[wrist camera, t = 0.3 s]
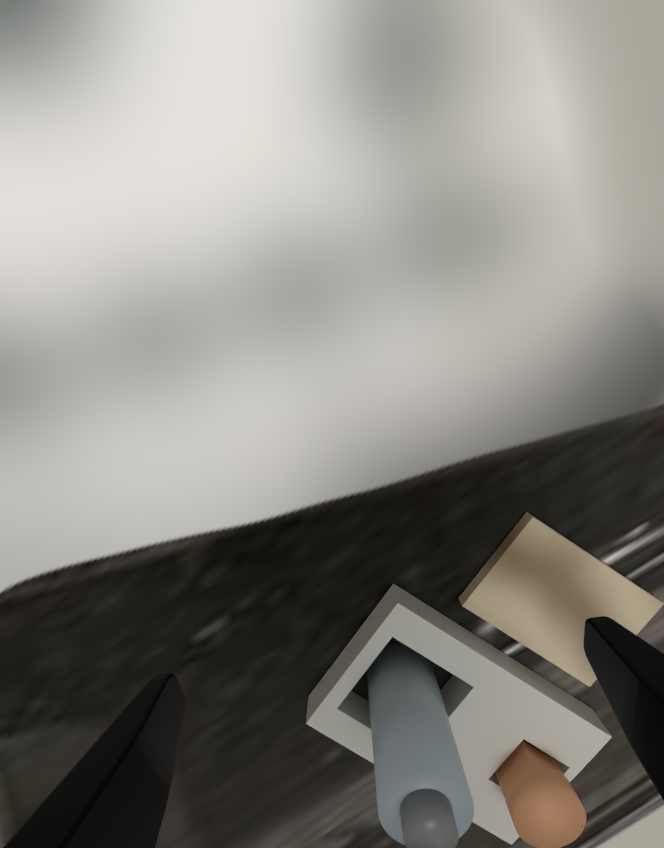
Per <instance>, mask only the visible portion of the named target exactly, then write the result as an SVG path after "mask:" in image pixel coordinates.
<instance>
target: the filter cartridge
mask: <svg viewBox="0 0 664 848" xmlns="http://www.w3.org/2000/svg"><path fill="white" fill-rule="evenodd" d="M367 684H368V696H369V708H370V721H371V733H372V745H373V758H374V770H375V782H376V794H377V807H378V816H379V820H380V823H381V825H382V827H383V828H384V830H385V831H386V832H387V833H388V835H389V836H391V837H392V838H393V839H394V840H396V841H397V842H399V843H401V844H403V845H405V846H406V848H455V847H456V845H457V843H458V840H459V838H460V837H461V836H462V835H463V834H464V833H465V832H466V831H467V830H468V828H469V826H470V825H471V822H472V820H473V816H474V803H473V799H472V795H471V792H470V789H469V785H468V782H467V779H466V775H465V772H464V769H463V766H462V762H461V759H460V756H459V752H458V749H457V746H456V742H455V739H454V736H453V732H452V729H451V726H450V722H449V719H448V716H447V712H446V709H445V706H444V702H443V699H442V696H441V692H440V689H439V686H438V682H437V679H436V676H435V672H434V669H433V666H432V662H431V660H429V659H427V658H426V657H424V656H423V655H421V654H419V653H418V652H416V651H414V650H413V649H411V648H410V647H408V646H406V645H405V644H403V643H402V642H395V643H390V644H387V645H386V646H385V647H384V648H383V650H382V651H381V652H380V654H379V655H378V656H377V657H376V659H375V660H374V661H373V663H372V664H371V665H370V667H369V668H368V669H367Z"/></svg>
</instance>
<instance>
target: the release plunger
mask: <svg viewBox="0 0 664 848" xmlns="http://www.w3.org/2000/svg"><path fill="white" fill-rule="evenodd" d="M495 773H496V776H497V779H498V781H499V784H500V787H501V789H502V792H503V795H504V797H505V800H506V805H507V808H508V810H509V813H510V816H511V818H512V821H513V824H514V826H515V829H516V831H517V833H518V835H519V836H520V837H521V839H522V840H524V841H525V842H526V843H528V844H530V845H532V846H534V847H537V848H560V847H563V846H565V845H568V844H570V843H571V842H573V841H574V840H575V839H577V838H578V837H579V835H580V834H581V833H582V831H583V829H584V827H585V824H586V813H585V810H584V807H583V805H582V804H581V802H580V800H579V798H578V796H577V794H576V793H575V791H574V789H573V787H572V785H571V783H570V782H569V780H568V779H567V778H566V777H565V776H564V774H563V772H562V771H561V769H560V767H559V765H558V763H557V761H556V760H554V759H553V758H551V757H549V756H548V755H546V754H544V753H543V752H541V751H540V750H538V749H536V748H535V747H533V746H531V745H530V744H528V743H527V742H525V741H522V742H521V743H520V744H519V745H518V746H517V747H516V749H515V750H514V751H513V752H512V753H511V754H510V755H509V756H508V758H507V759H506V760H505V761H504V762H503V763H502V764H501V765H500V767H499V768H498V769H497V770H496V771H495Z"/></svg>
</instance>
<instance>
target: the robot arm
mask: <svg viewBox="0 0 664 848" xmlns="http://www.w3.org/2000/svg"><path fill="white" fill-rule="evenodd" d="M583 647H584V651H585V655H586V657H587V659H588V661H589V663H590V665H591V667H592V669H593V671H594V673H595V675H596V677H597V679H598V681H599V683H600V686H601V688H602V690H603V692H604V694H605V696H606V698H607V700H608V702H609V704H610V706H611V708H612V710H613V712H614V714H615V716H616V718H617V720H618V722H619V724H620V726H621V728H622V730H623V732H624V734H625V736H626V737H627V739H628V741H629V743H630V745H631V747H632V748H633V750H634V752H635V754H636V755H637V757H638V759H639V760H640V762H641V764H642V765H643V767H644V769H645V770H646V772H647V774H648V775H649V777H650V779H651V780H652V782H653V784H654V785H655V787H656V788H657V790H658V792H659V793H660V795H661V797H662V798H663V800H664V654H663V653H662V652H660V651H659V650H657V649H656V648H654V647H653V646H651V645H650V644H648V643H647V642H645V641H644V640H642V639H641V638H639V637H638V636H637V635H635V634H634V633H632V632H631V631H629V630H628V629H626V628H625V627H623V626H622V625H620V624H619V623H617V622H616V621H614V620H613V619H611V618H609V617H606V616H601V617H593V618H588V619H587V620H586V621H585V628H584V642H583ZM185 707H186V699H185V695H184V693H183V691H182V689H181V687H180V685H179V683H178V681H177V679H176V677H175V676H174V675H173V674H171V673H169V674H161V675H156V676H154V677H153V678H151V679H150V680H149V682H148V683H147V684H146V685H145V686H144V687H143V688H142V690H141V691H140V692H139V693H138V694H137V695H136V696H135V698H134V699H133V700H132V701H131V702H130V703H129V704H128V706H127V707H126V708H125V709H124V710H123V711H122V712H121V714H120V715H119V716H118V717H117V718H116V719H115V720H114V722H113V723H112V724H111V725H110V726H109V727H108V728H107V730H106V731H105V732H104V733H103V734H102V735H101V736H100V738H99V739H98V740H97V741H96V742H95V743H94V744H93V746H92V747H91V748H90V749H89V750H88V751H87V752H86V754H85V755H84V756H83V757H82V758H81V759H80V760H79V762H78V763H77V764H76V765H75V766H74V767H73V768H72V770H71V771H70V772H69V773H68V774H67V775H66V777H65V778H64V779H63V780H62V781H61V782H60V783H59V785H58V786H57V787H56V788H55V789H54V790H53V791H52V793H51V794H50V795H49V796H48V797H47V798H46V799H45V801H44V802H43V803H42V804H41V805H40V806H39V807H38V809H37V810H36V811H35V812H34V813H33V814H32V815H31V817H30V818H29V819H28V820H27V821H26V822H25V823H24V825H23V826H22V827H21V828H20V829H19V830H18V831H17V833H16V834H15V835H14V836H13V837H12V838H11V839H10V841H9V842H8V843H7V844H6V845H5V846H4V847H3V848H155V845H156V841H157V838H158V834H159V830H160V827H161V823H162V819H163V816H164V812H165V808H166V804H167V800H168V796H169V792H170V788H171V783H172V778H173V773H174V767H175V762H176V756H177V751H178V746H179V740H180V735H181V729H182V724H183V719H184V713H185Z"/></svg>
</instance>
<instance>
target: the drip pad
mask: <svg viewBox="0 0 664 848" xmlns="http://www.w3.org/2000/svg"><path fill="white" fill-rule="evenodd" d="M459 600H460V602H461V605H462V606H463V607H465V608H466V609H468V610H469V611H471V612H473V613H474V614H476V615H477V616H479V617H480V618H482V619H484V620H485V621H487V622H488V623H490V624H491V625H493V626H495V627H496V628H498V629H499V630H501V631H502V632H504V633H506V634H507V635H509V636H510V637H512V638H514V639H515V640H517V641H518V642H520V643H521V644H523V645H525V646H526V647H528V648H529V649H531V650H532V651H534V652H536V653H537V654H539V655H540V656H542V657H543V658H545V659H547V660H548V661H550V662H551V663H553V664H554V665H556V666H558V667H559V668H561V669H562V670H564V671H566V672H567V673H569V674H570V675H572V676H573V677H575V678H577V679H578V680H580V681H581V682H583V683H584V684H586V685H588V686H589V687H590V686H591V685H592V684H593V683H594V682H595V681H596V679H597V677H596V675H595V673H594V671H593V669H592V667H591V665H590V663H589V661H588V659H587V657H586V655H585V651H584V647H583V642H584V628H585V621H586V620H587V619H588V618H593V617H601V616H606V617H609V618H611V619H613V620H614V621H616V622H617V623H619V624H620V625H622V626H623V627H625V628H626V629H628V630H629V631H631V632H632V633H634V634H635V635H637V634H638V633H639V631H640V630H641V629H642V628H643V627H644V626H645V625H646V624H647V623H648V621H649V620H650V619H651V618H652V617H653V616H654V615H655V614H656V612H657V611H658V610H659V609H660V608H661V607H662V606H663V605H664V603H662V602H661V601H660V600H658V599H657V598H656V597H654V596H653V595H651V594H650V593H648V592H647V591H645V590H644V589H642V588H641V587H639V586H638V585H636V584H635V583H633V582H632V581H630V580H629V579H627V578H626V577H624V576H623V575H621V574H620V573H618V572H617V571H615V570H614V569H612V568H611V567H609V566H608V565H606V564H605V563H603V562H602V561H600V560H598V559H597V558H595V557H594V556H592V555H591V554H589V553H588V552H586V551H585V550H583V549H582V548H580V547H579V546H577V545H576V544H574V543H573V542H571V541H570V540H568V539H567V538H565V537H564V536H562V535H561V534H559V533H558V532H556V531H555V530H553V529H552V528H550V527H549V526H547V525H546V524H544V523H543V522H541V521H540V520H538V519H537V518H535V517H534V516H532V515H531V514H529V513H528V512H526V513H525V514H524V516H523V517H522V518H521V520H520V521H519V522H518V523H517V525H516V526H515V527H514V528H513V530H512V531H511V532H510V533H509V535H508V536H507V537H506V538H505V540H504V541H503V542H502V544H501V545H500V546H499V547H498V549H497V550H496V551H495V552H494V554H493V555H492V556H491V557H490V559H489V560H488V561H487V563H486V564H485V565H484V566H483V568H482V569H481V570H480V571H479V573H478V574H477V575H476V576H475V578H474V579H473V580H472V581H471V583H470V584H469V585H468V587H467V588H466V589H465V590H464V592H463V593H462V594H461V595H460V597H459Z"/></svg>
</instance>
